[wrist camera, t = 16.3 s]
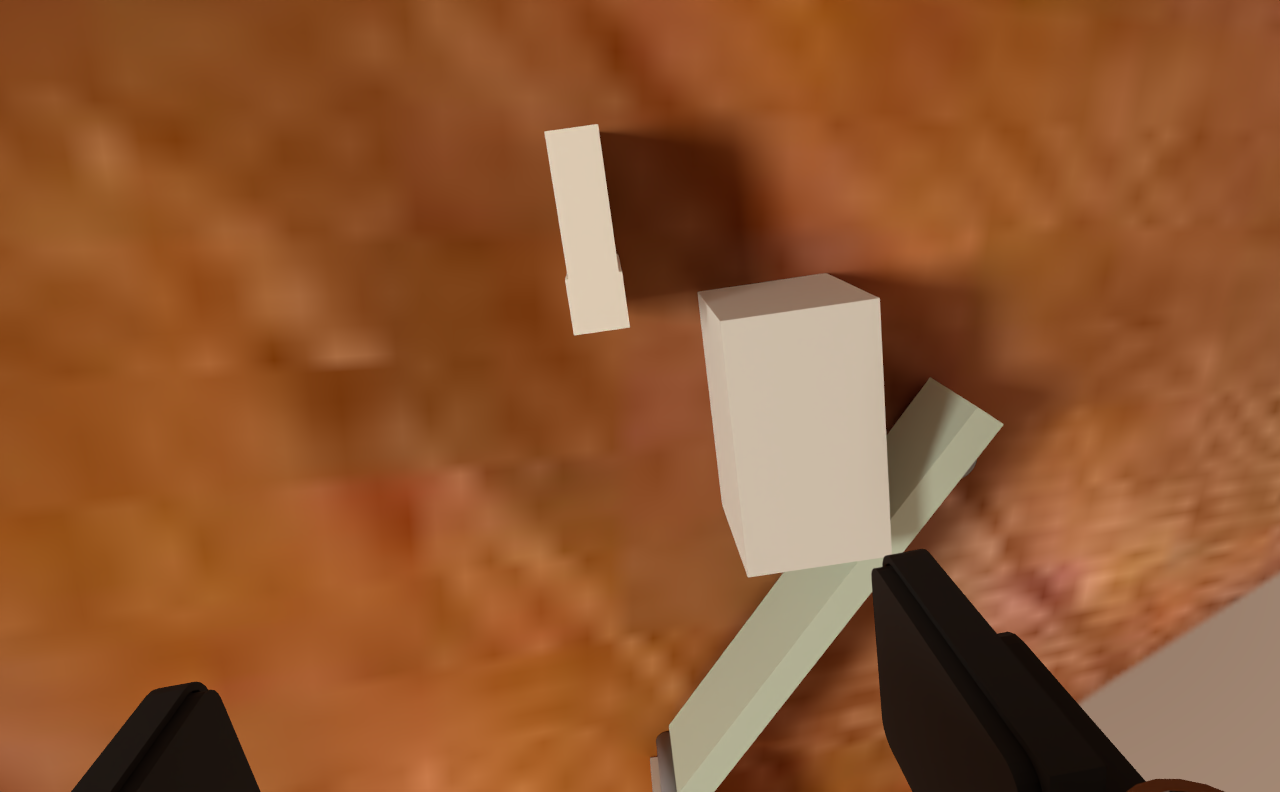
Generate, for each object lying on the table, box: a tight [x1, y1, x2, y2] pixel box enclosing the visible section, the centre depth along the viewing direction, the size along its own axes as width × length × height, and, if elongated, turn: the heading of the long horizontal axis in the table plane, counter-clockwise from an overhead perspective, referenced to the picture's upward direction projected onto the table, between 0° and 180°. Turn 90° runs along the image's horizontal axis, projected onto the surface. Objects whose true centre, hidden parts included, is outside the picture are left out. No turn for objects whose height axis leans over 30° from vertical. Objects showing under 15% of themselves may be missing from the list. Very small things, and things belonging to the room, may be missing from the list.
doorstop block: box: [698, 273, 892, 577], centre depth 28 cm, size 9×5×6 cm, turn 8°
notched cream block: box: [545, 124, 661, 792], centre depth 30 cm, size 33×2×5 cm, turn 8°
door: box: [656, 377, 1004, 792], centre depth 31 cm, size 20×2×5 cm, turn 148°
